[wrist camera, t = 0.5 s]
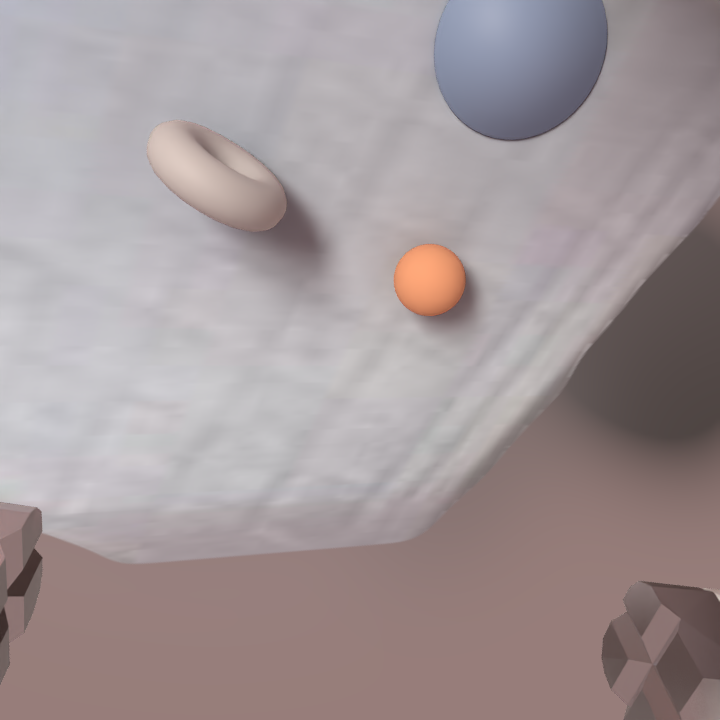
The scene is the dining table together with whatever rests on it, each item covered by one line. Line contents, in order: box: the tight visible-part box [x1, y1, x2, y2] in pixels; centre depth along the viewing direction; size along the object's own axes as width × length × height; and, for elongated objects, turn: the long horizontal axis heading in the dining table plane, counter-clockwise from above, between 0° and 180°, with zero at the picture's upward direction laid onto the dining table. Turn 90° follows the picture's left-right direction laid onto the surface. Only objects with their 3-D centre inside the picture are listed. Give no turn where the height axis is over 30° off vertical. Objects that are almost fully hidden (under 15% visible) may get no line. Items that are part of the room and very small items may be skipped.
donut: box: [147, 120, 287, 232], centre depth 46 cm, size 10×4×10 cm, turn 56°
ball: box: [394, 244, 466, 316], centre depth 52 cm, size 6×6×6 cm
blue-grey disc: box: [434, 0, 607, 140], centre depth 47 cm, size 12×12×1 cm
